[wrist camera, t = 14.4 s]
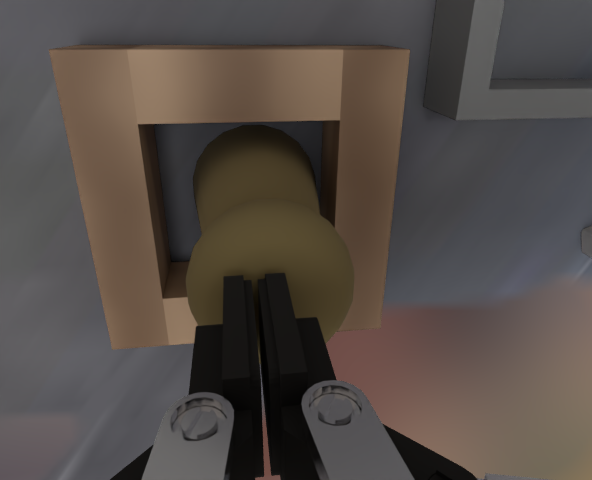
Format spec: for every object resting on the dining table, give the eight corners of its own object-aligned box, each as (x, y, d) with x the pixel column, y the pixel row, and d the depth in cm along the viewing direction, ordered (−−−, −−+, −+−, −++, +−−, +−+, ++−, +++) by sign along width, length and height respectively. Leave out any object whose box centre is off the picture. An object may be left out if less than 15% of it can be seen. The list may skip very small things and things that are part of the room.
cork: (197, 116, 21) (170, 201, 11) (325, 133, 22) (406, 225, 12) (188, 235, 23) (160, 393, 13) (304, 245, 24) (356, 398, 14)
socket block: (382, 45, 20) (410, 49, 17) (361, 291, 26) (380, 328, 23) (78, 44, 19) (48, 49, 16) (127, 307, 24) (112, 349, 21)
